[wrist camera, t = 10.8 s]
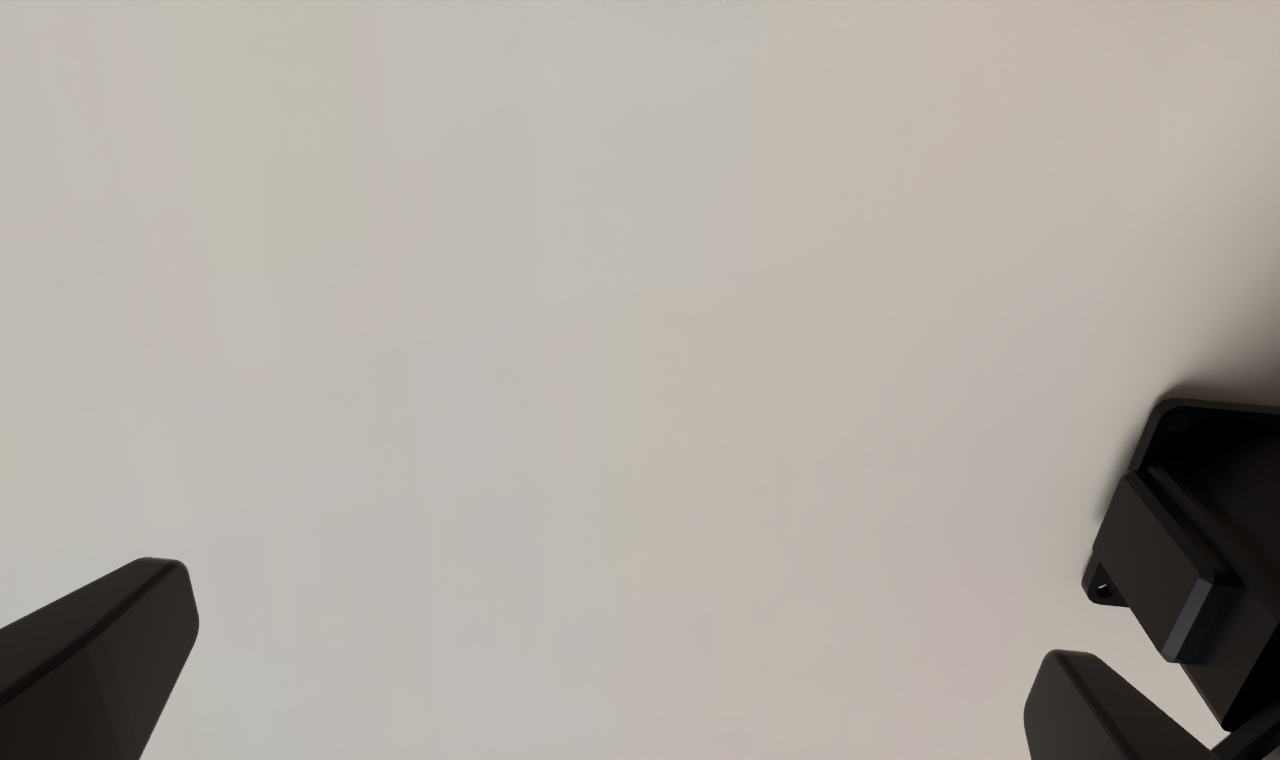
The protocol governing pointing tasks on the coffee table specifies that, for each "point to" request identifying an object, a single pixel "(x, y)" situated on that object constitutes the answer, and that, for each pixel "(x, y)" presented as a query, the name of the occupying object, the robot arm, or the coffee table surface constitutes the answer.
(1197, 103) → the coffee table surface
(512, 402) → the coffee table surface
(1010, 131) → the coffee table surface
